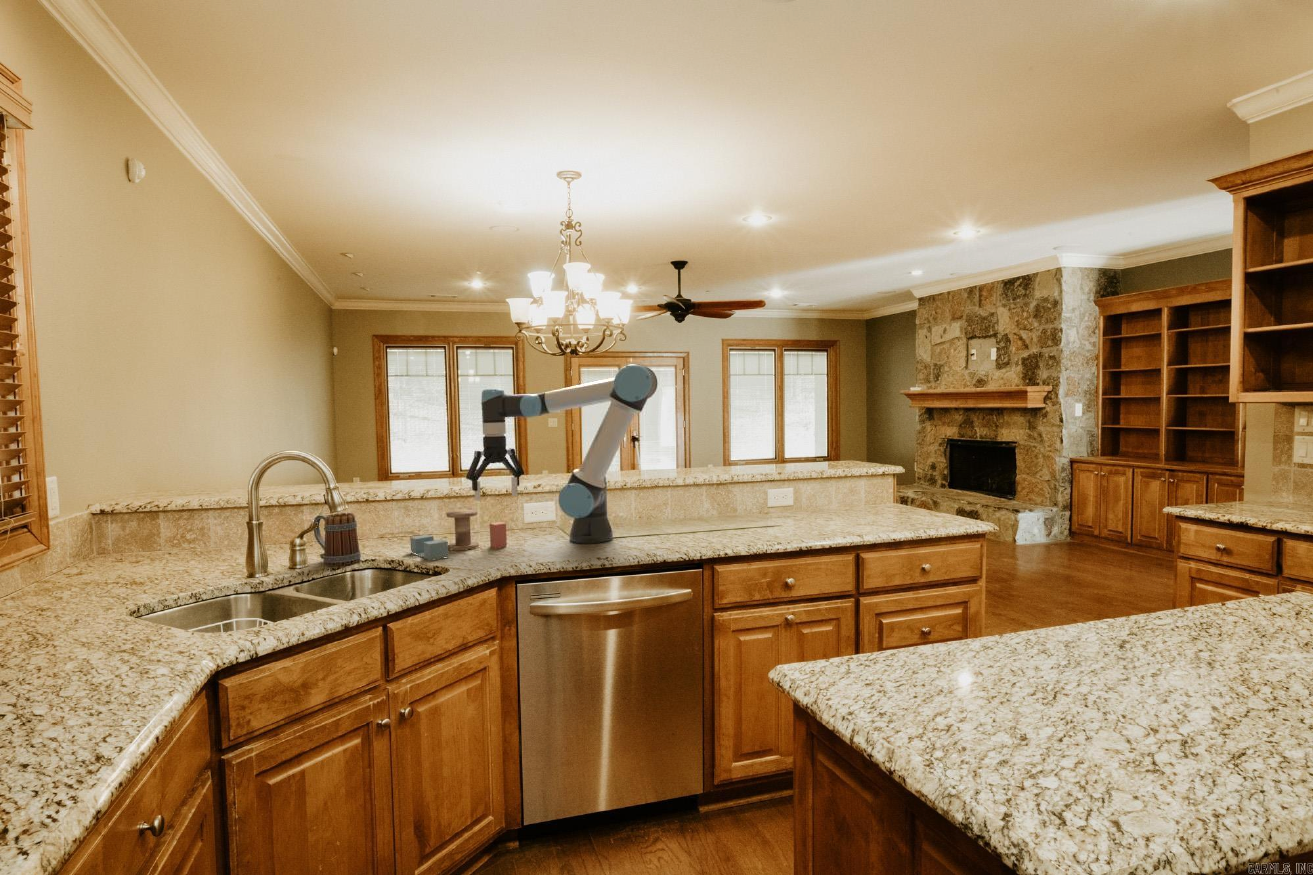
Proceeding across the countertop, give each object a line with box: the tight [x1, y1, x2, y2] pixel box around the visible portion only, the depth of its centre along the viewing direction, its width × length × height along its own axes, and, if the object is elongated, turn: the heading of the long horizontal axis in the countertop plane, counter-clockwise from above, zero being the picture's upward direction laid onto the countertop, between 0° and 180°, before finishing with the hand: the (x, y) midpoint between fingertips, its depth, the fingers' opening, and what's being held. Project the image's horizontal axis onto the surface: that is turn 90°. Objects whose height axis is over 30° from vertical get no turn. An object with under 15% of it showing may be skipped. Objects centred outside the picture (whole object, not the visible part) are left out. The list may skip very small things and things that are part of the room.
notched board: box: [409, 534, 449, 561], centre depth 219 cm, size 16×6×5 cm, turn 40°
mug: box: [312, 512, 362, 567], centre depth 212 cm, size 16×11×15 cm
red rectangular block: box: [489, 521, 508, 549], centre depth 229 cm, size 4×4×8 cm
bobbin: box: [446, 509, 479, 551], centre depth 229 cm, size 10×10×12 cm
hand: (496, 498), depth 228 cm, fingers open, 13 cm apart
